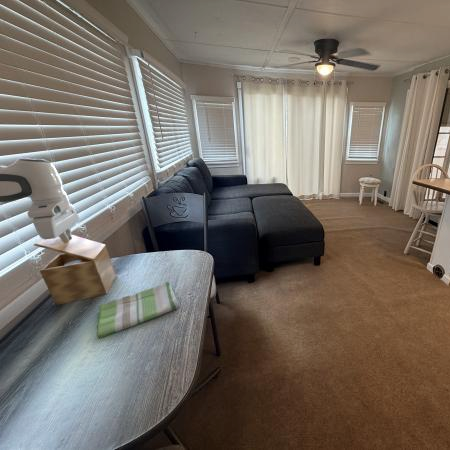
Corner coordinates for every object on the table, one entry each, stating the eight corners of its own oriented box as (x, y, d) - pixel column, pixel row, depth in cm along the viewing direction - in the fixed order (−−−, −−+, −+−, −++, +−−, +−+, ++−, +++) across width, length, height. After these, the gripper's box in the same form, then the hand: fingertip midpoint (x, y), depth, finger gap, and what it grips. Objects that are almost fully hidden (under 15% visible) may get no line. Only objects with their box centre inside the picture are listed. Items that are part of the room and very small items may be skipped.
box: (56, 305, 88) (39, 270, 83) (72, 285, 100) (58, 254, 95) (106, 293, 94) (94, 261, 88) (116, 276, 106) (105, 246, 100)
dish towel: (180, 309, 84) (178, 301, 83) (97, 340, 72) (93, 331, 71) (172, 286, 97) (170, 278, 96) (101, 309, 85) (98, 301, 84)
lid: (33, 245, 80) (34, 243, 80) (54, 231, 92) (54, 229, 92) (93, 260, 88) (94, 259, 88) (104, 246, 100) (105, 244, 100)
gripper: (56, 199, 92) (69, 232, 97) (23, 214, 74) (42, 254, 79) (76, 197, 94) (88, 230, 99) (49, 212, 76) (66, 250, 81)
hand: (67, 241), depth 89 cm, fingers closed
